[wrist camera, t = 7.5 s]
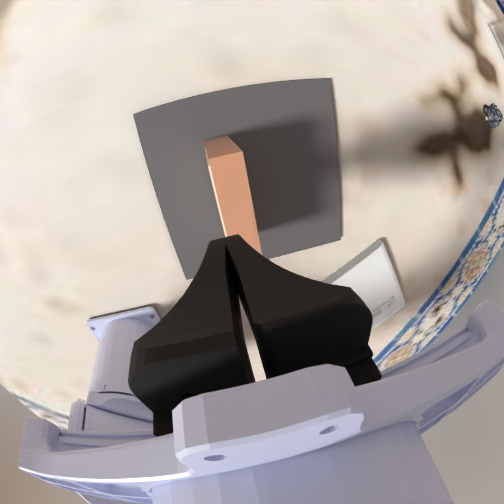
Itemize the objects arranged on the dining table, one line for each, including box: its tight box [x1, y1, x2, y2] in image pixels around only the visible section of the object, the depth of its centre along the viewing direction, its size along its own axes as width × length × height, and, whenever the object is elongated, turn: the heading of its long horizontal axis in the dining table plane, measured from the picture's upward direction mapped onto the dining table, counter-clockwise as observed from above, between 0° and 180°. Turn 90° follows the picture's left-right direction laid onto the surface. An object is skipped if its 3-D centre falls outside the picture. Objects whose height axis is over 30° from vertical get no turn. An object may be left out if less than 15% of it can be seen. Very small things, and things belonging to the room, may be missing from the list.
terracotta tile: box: [204, 135, 262, 255], centre depth 17 cm, size 8×2×6 cm, turn 10°
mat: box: [133, 78, 341, 280], centre depth 20 cm, size 14×14×1 cm
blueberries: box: [483, 91, 503, 128], centre depth 19 cm, size 7×8×2 cm
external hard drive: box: [322, 239, 405, 331], centre depth 29 cm, size 2×8×12 cm
